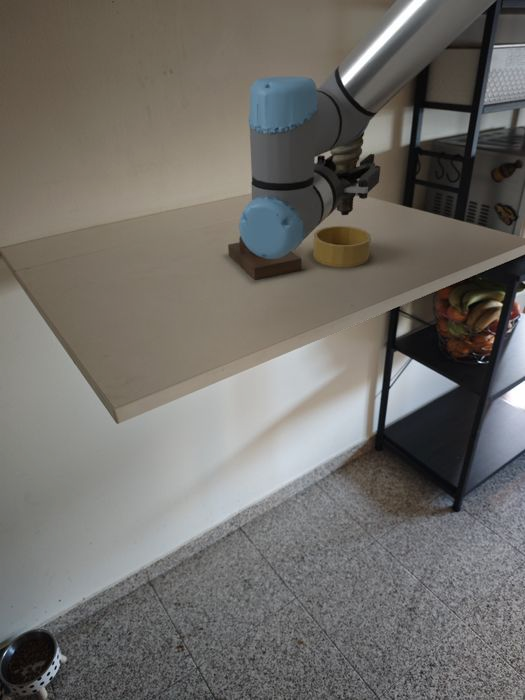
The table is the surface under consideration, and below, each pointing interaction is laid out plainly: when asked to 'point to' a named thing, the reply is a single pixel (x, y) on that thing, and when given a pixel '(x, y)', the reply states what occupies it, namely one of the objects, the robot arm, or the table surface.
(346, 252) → the lamp holder
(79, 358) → the table surface
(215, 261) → the table surface
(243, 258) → the switch box
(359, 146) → the light bulb
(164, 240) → the table surface
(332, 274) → the table surface
